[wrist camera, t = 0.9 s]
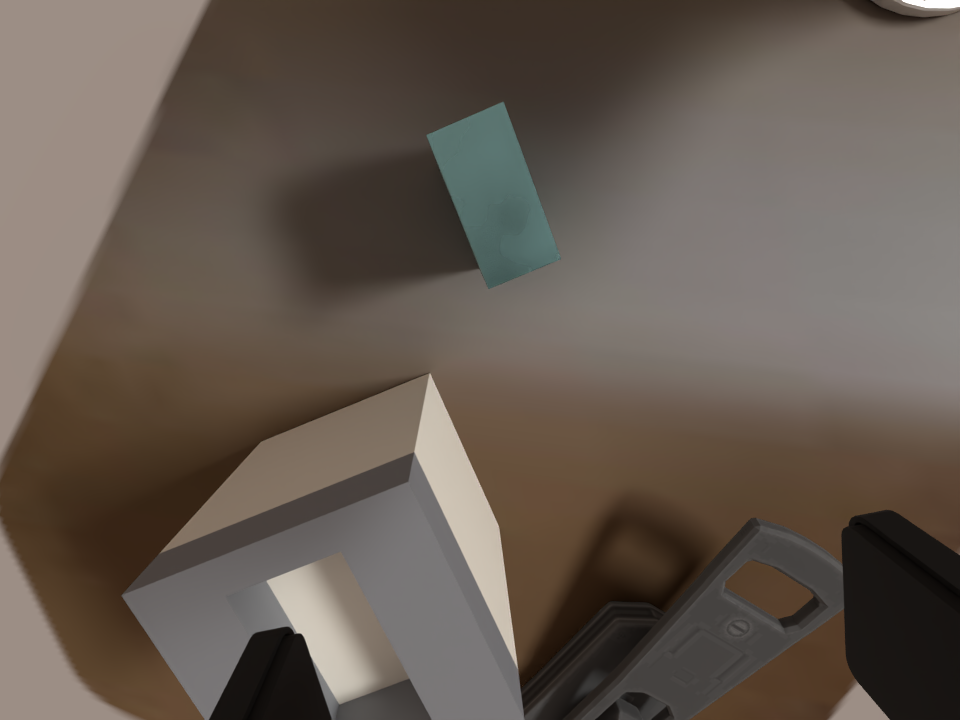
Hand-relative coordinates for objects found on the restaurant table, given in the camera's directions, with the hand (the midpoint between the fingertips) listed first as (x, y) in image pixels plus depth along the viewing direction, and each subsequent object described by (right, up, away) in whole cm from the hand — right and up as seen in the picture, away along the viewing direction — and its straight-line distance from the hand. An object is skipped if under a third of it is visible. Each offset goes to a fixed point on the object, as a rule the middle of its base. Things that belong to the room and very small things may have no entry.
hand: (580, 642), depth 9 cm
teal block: (-1, +13, +21) cm, 25 cm away
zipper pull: (+9, -14, +28) cm, 33 cm away
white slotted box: (-8, -3, +24) cm, 26 cm away
